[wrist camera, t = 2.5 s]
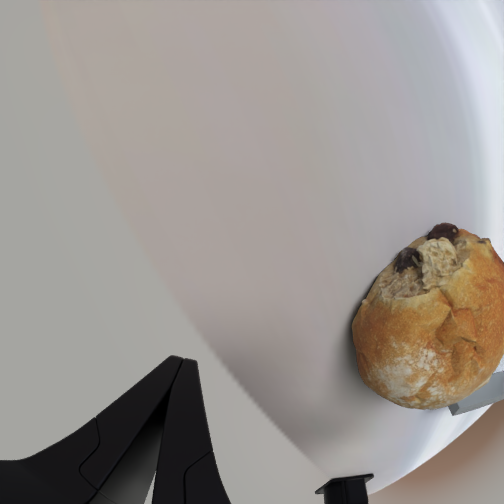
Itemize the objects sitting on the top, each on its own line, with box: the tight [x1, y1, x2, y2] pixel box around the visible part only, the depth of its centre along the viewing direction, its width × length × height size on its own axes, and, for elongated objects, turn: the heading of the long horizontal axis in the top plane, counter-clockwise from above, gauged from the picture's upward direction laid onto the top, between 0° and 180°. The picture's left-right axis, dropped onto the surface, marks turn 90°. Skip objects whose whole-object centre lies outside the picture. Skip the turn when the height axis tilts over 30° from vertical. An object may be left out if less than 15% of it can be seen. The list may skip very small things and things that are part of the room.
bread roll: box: [352, 223, 504, 410], centre depth 11 cm, size 10×10×8 cm
